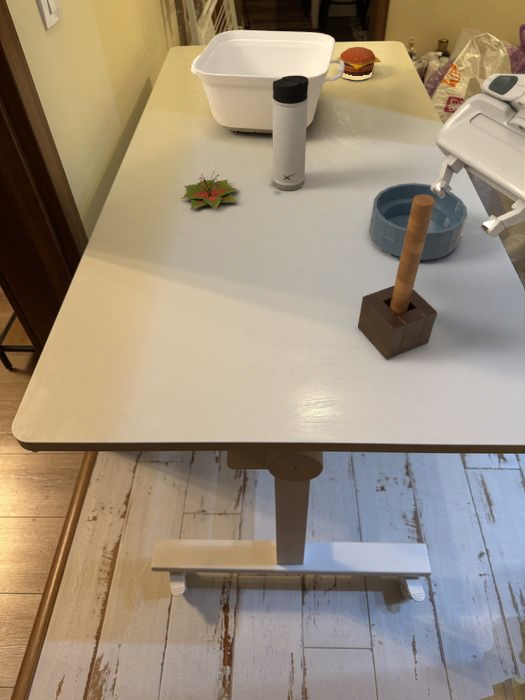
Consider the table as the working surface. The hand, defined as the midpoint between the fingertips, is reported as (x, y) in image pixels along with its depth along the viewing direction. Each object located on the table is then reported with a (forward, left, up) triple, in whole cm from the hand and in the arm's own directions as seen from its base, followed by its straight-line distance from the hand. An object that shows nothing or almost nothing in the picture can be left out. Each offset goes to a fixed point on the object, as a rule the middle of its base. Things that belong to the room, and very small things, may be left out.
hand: (460, 212), depth 63 cm
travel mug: (+15, -42, -19) cm, 48 cm away
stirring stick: (+6, +2, -18) cm, 19 cm away
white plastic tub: (+16, -72, -19) cm, 76 cm away
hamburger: (-11, -96, -19) cm, 98 cm away
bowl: (-4, -21, -18) cm, 28 cm away
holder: (+6, +2, -18) cm, 19 cm away
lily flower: (+31, -39, -19) cm, 53 cm away
